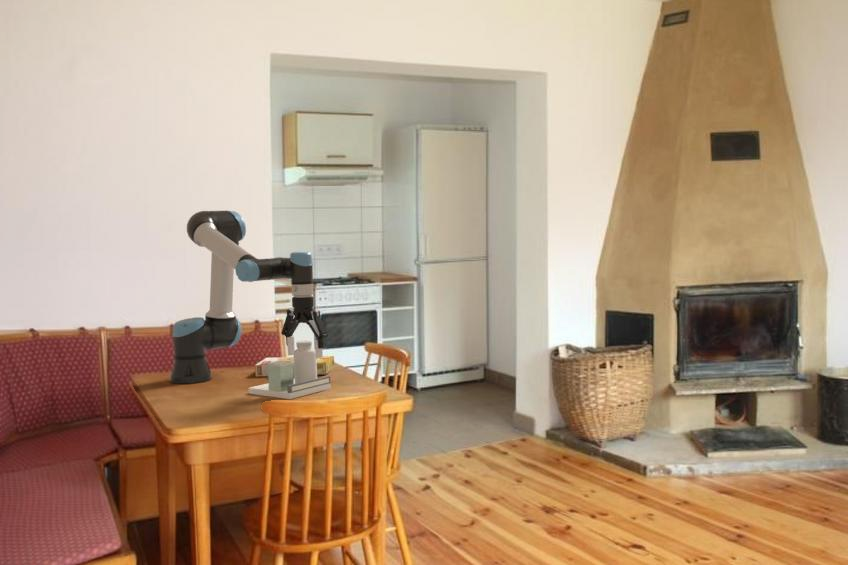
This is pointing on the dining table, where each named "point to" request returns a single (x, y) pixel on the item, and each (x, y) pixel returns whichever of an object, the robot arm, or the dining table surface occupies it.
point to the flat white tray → (294, 389)
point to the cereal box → (323, 365)
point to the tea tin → (280, 375)
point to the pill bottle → (304, 362)
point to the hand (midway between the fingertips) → (305, 356)
